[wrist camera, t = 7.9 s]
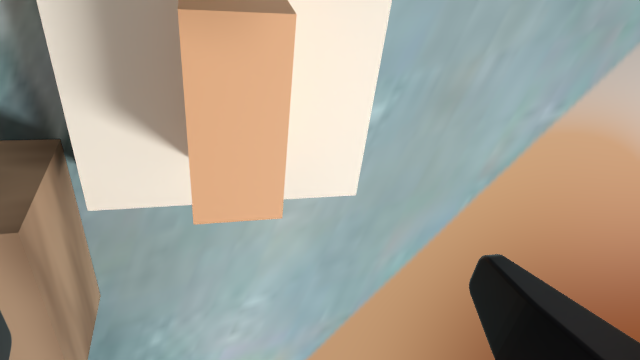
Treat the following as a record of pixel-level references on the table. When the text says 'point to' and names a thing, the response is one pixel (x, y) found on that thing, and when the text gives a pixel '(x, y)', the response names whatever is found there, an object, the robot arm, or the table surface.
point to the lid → (216, 99)
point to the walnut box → (43, 255)
